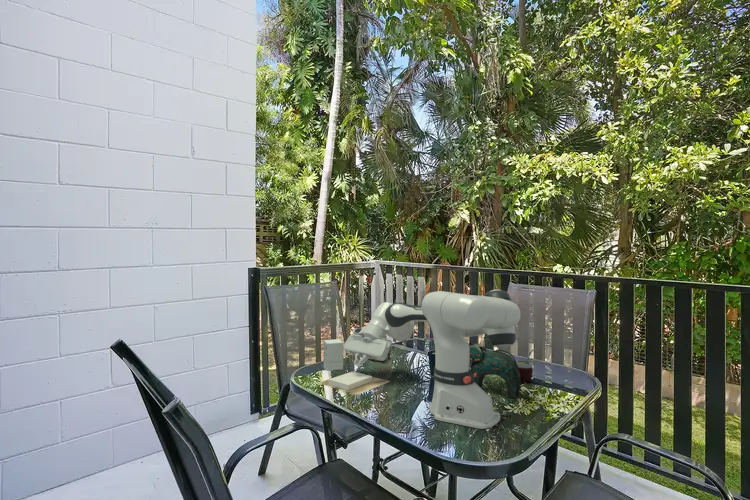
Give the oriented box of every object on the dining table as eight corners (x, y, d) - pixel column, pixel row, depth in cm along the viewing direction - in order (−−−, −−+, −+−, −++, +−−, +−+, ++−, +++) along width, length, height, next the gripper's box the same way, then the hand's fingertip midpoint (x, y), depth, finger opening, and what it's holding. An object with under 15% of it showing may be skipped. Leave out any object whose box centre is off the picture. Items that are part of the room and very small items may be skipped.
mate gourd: (513, 378, 176) (513, 342, 176) (533, 380, 174) (533, 343, 174) (515, 384, 169) (515, 346, 169) (536, 386, 167) (536, 348, 167)
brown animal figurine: (365, 359, 205) (372, 343, 208) (383, 367, 207) (389, 351, 210) (372, 358, 194) (379, 342, 197) (390, 367, 196) (397, 350, 198)
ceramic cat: (465, 388, 163) (464, 337, 161) (472, 382, 168) (471, 333, 167) (517, 400, 151) (516, 345, 149) (523, 394, 156) (522, 340, 155)
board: (390, 383, 167) (390, 381, 167) (357, 397, 151) (357, 394, 151) (352, 373, 179) (352, 371, 179) (317, 385, 163) (317, 382, 163)
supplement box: (339, 367, 189) (339, 338, 189) (343, 371, 182) (343, 342, 182) (323, 368, 187) (323, 339, 187) (326, 373, 180) (326, 343, 180)
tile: (372, 376, 166) (348, 385, 155) (372, 381, 166) (348, 390, 155) (352, 371, 172) (328, 379, 161) (352, 376, 172) (328, 385, 161)
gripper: (396, 344, 169) (381, 374, 162) (357, 337, 182) (341, 364, 174) (390, 335, 166) (374, 365, 158) (350, 328, 178) (334, 356, 171)
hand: (357, 365), depth 166 cm, fingers closed
